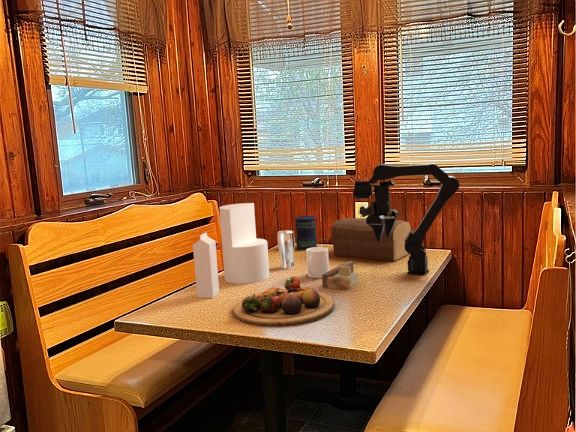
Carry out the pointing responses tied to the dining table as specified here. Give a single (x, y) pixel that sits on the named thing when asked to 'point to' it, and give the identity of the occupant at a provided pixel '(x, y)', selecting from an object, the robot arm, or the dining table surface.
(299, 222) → the storage jar
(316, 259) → the mug
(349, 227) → the wooden bread box
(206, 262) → the milk
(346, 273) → the square base with post
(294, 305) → the wooden plate with food
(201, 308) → the dining table surface
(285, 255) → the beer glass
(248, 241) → the stepped white drum
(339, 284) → the cleat board
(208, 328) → the dining table surface
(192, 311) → the dining table surface
